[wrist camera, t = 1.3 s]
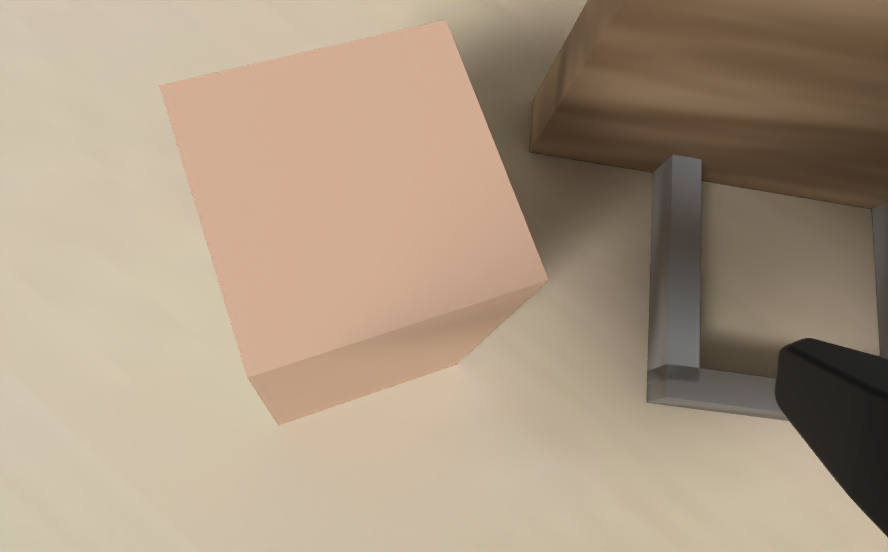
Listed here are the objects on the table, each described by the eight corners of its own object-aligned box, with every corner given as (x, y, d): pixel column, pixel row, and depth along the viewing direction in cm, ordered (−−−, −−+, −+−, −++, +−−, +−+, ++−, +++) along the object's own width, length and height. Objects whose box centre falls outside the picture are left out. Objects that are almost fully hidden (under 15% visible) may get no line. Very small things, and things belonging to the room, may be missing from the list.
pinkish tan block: (456, 364, 24) (549, 279, 14) (278, 425, 22) (247, 377, 13) (397, 200, 25) (446, 19, 15) (224, 249, 23) (159, 85, 14)
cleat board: (1031, 452, 26) (1446, 430, 16) (510, 384, 24) (639, 314, 14) (1001, 181, 29) (1342, 27, 19) (533, 99, 26) (653, -120, 17)
